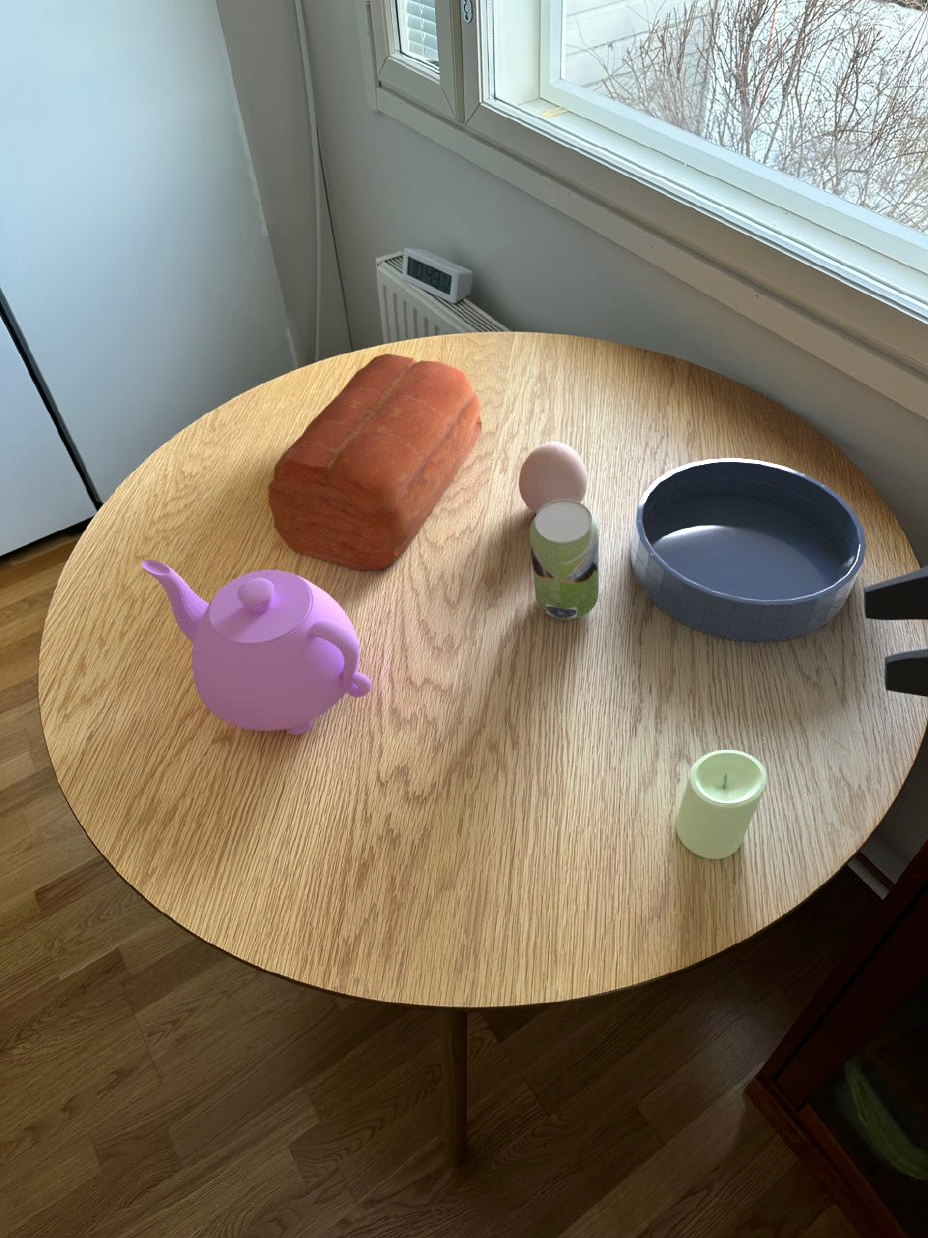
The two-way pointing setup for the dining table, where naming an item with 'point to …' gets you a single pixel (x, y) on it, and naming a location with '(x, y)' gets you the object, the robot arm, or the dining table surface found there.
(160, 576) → the teapot
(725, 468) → the bowl
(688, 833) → the candle
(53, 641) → the dining table surface
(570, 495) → the egg
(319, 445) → the bread
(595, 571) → the beverage can
